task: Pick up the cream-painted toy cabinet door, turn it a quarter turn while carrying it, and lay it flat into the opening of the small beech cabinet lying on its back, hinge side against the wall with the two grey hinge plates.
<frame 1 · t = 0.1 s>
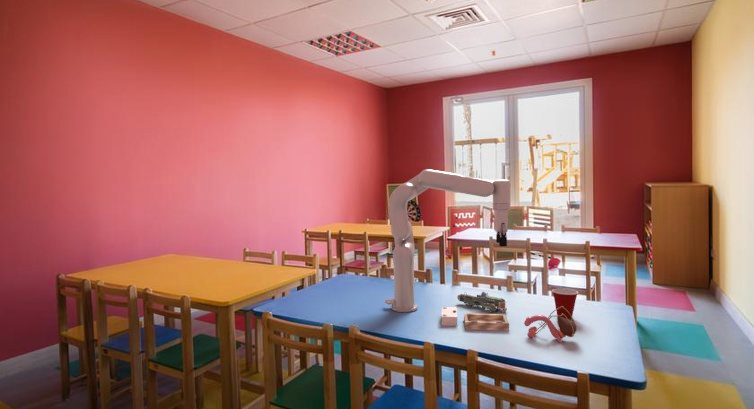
hand: (501, 244, 195), 31 cm above the table, tool pointing down, fingers open, 9 cm apart
anatomy model: (549, 338, 164), on the table
door: (449, 320, 187), on the table
hoverbike: (480, 308, 202), on the table
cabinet: (485, 325, 180), on the table
plastic cup: (564, 317, 187), on the table
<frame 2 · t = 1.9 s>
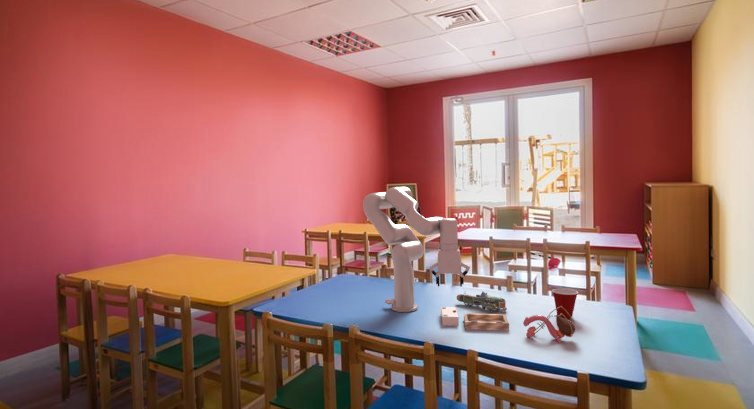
hand: (449, 285, 186), 15 cm above the table, tool pointing down, fingers open, 9 cm apart
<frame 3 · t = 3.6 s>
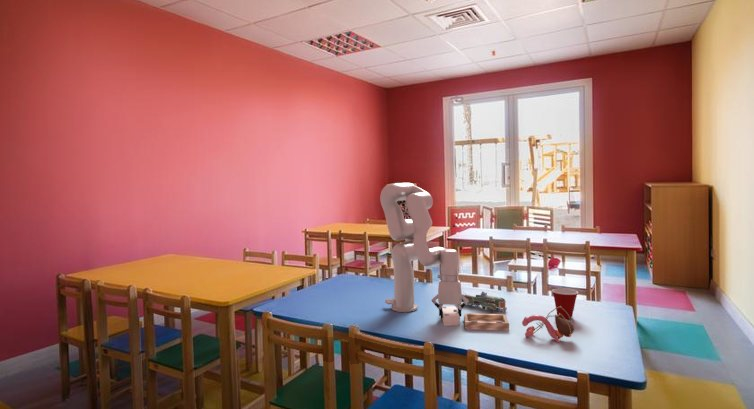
hand: (450, 317, 187), 1 cm above the table, tool pointing down, fingers closed on door, 6 cm apart
door: (450, 320, 187), on the table, touching gripper
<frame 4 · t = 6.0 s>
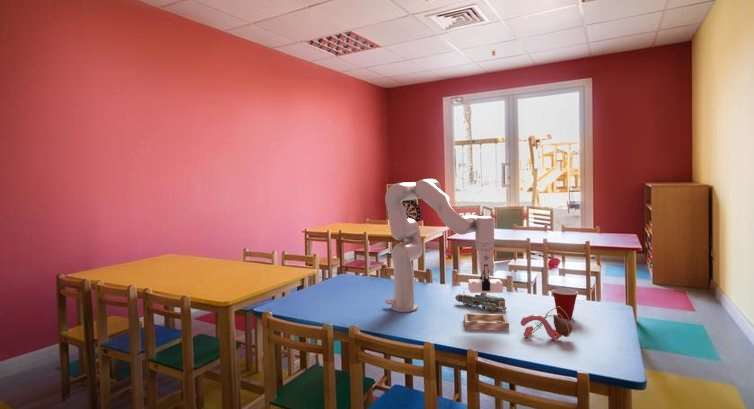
hand: (485, 287, 179), 16 cm above the table, tool pointing down, fingers closed on door, 6 cm apart
door: (485, 290, 179), point 15 cm above the table, touching gripper
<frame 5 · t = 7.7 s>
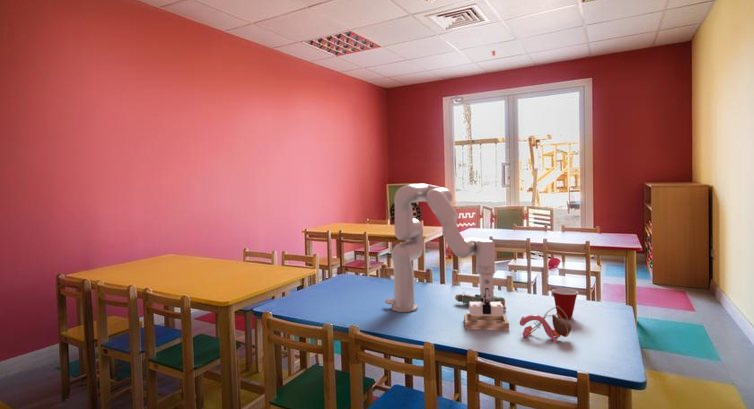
hand: (485, 310, 179), 6 cm above the table, tool pointing down, fingers closed on door, 6 cm apart
door: (485, 313, 179), point 5 cm above the table, touching gripper
when the fingers open (4 cm above the table, at t = 8.7 s): door drops 2 cm, resting on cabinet.
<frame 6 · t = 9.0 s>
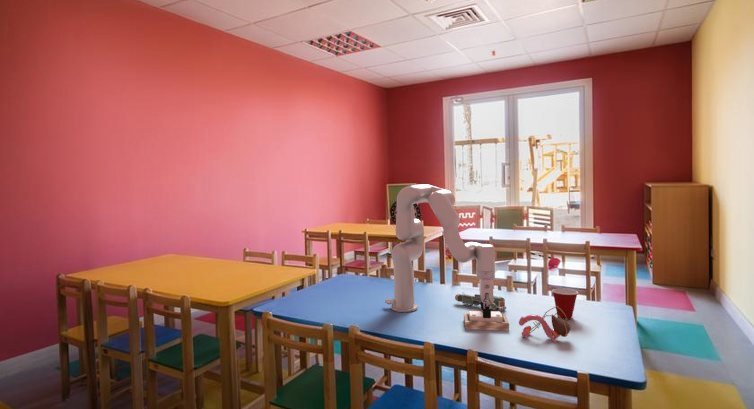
hand: (485, 314, 179), 5 cm above the table, tool pointing down, fingers open, 9 cm apart
door: (485, 323, 180), point 1 cm above the table, touching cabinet
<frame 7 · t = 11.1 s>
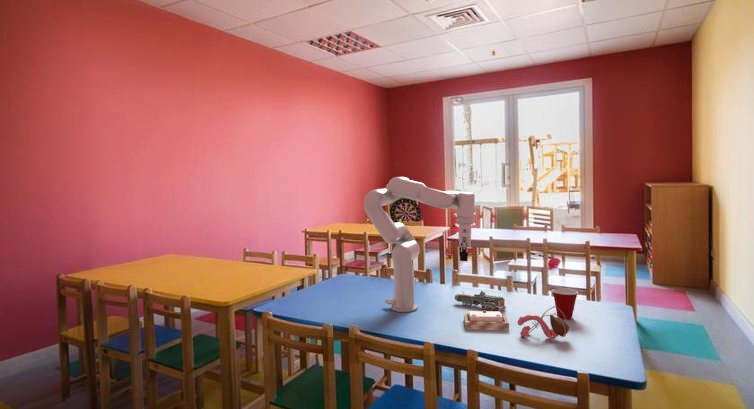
hand: (463, 258, 189), 26 cm above the table, tool pointing down, fingers open, 9 cm apart
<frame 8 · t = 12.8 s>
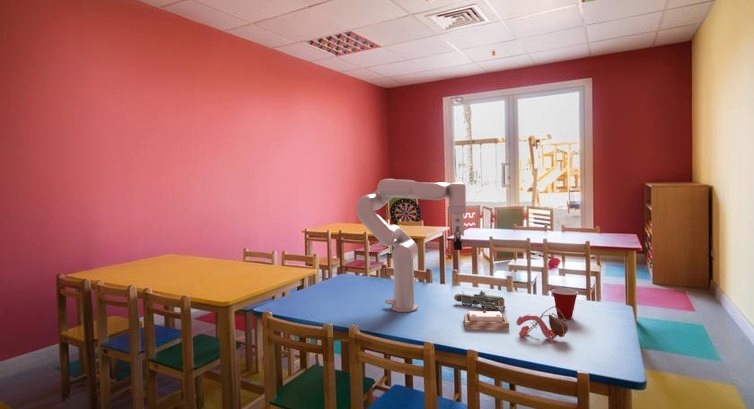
hand: (457, 247, 193), 30 cm above the table, tool pointing down, fingers open, 9 cm apart
at the end: door 0.2 cm off-centre on the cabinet, point 0.8 cm above the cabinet's base; door tilted 0°; the gripper is holding nothing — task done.
